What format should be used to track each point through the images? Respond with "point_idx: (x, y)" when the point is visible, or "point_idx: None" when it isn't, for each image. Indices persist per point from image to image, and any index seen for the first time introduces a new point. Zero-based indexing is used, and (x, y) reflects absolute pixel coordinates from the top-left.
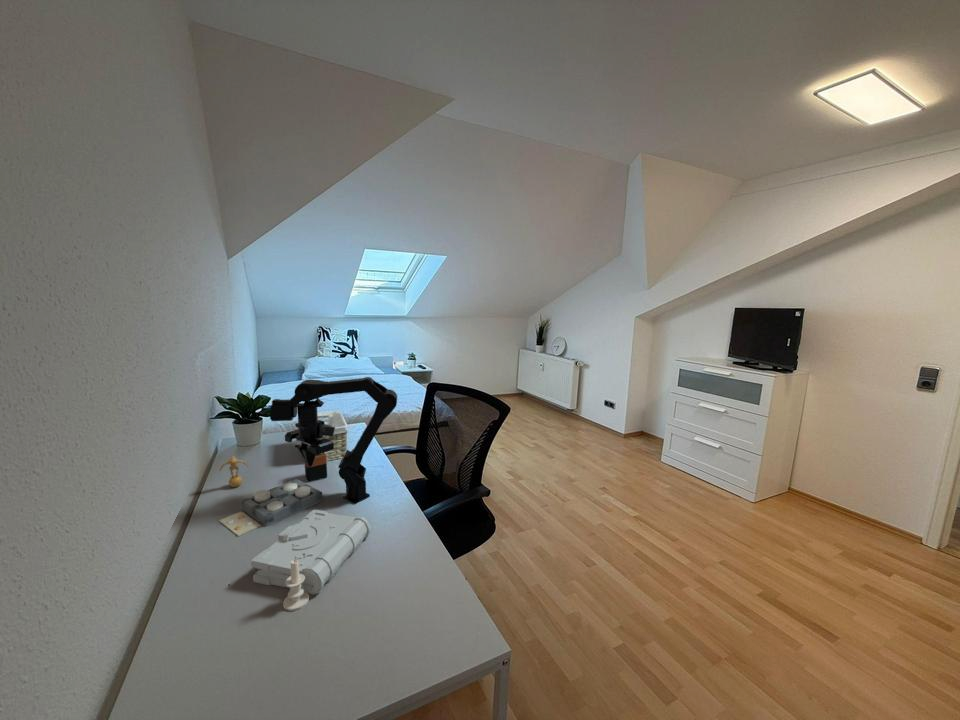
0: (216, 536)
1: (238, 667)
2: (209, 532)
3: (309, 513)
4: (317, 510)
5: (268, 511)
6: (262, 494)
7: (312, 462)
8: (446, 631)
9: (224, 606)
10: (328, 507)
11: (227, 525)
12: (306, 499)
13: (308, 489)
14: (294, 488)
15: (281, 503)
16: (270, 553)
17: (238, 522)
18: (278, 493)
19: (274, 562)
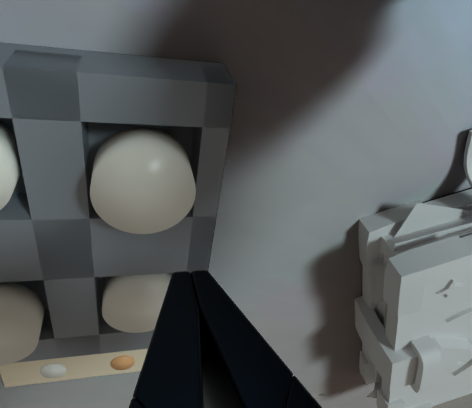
0: (108, 394)
1: (455, 401)
2: (64, 402)
3: (400, 298)
4: (422, 273)
5: None
6: (5, 342)
7: (230, 309)
8: None
9: (358, 402)
10: (311, 95)
11: (71, 377)
12: (219, 192)
13: (179, 171)
14: (13, 170)
15: (155, 289)
16: (407, 399)
17: (80, 356)
18: (2, 252)
19: (437, 400)
